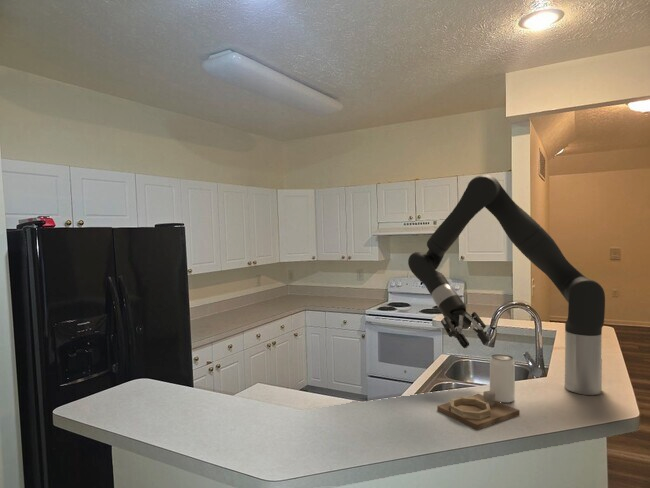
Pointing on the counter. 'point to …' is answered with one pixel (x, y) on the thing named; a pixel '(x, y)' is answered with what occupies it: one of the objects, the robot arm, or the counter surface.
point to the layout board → (478, 410)
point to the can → (502, 378)
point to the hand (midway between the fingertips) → (477, 344)
